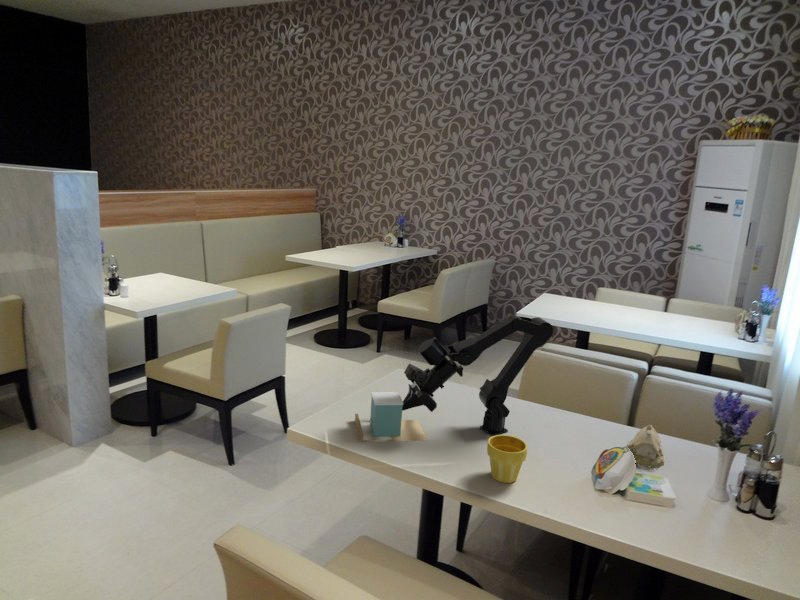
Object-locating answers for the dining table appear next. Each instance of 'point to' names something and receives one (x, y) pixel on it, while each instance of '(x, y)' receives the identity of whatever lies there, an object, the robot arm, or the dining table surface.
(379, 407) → the tin
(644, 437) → the ceramic model
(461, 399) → the dining table surface
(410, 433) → the plinth board
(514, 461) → the plant pot
